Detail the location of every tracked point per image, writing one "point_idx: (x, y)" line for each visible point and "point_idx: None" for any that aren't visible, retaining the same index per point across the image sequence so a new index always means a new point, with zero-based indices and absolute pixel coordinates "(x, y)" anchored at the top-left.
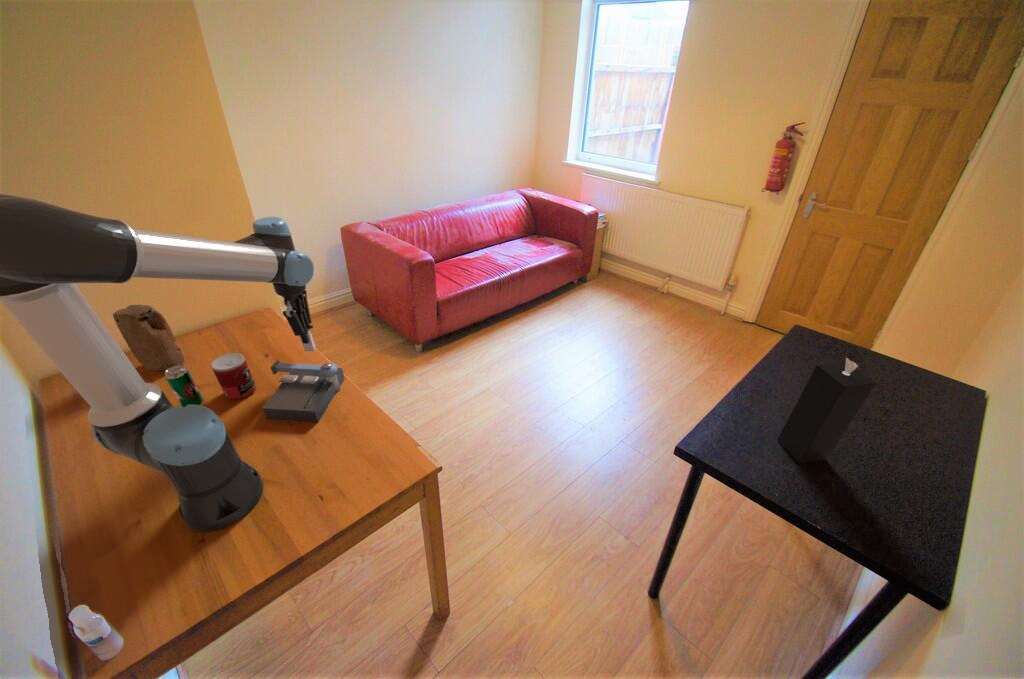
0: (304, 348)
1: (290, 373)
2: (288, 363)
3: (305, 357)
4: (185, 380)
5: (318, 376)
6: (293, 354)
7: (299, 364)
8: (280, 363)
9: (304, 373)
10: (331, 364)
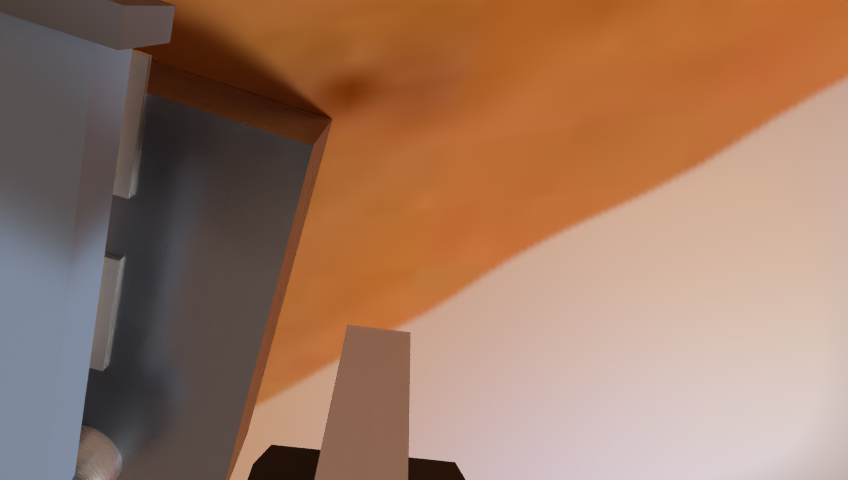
0: (342, 353)
1: (179, 114)
2: (77, 180)
3: (610, 134)
4: None
5: (112, 366)
6: (705, 12)
7: (53, 310)
8: (82, 70)
9: (168, 248)
10: None
